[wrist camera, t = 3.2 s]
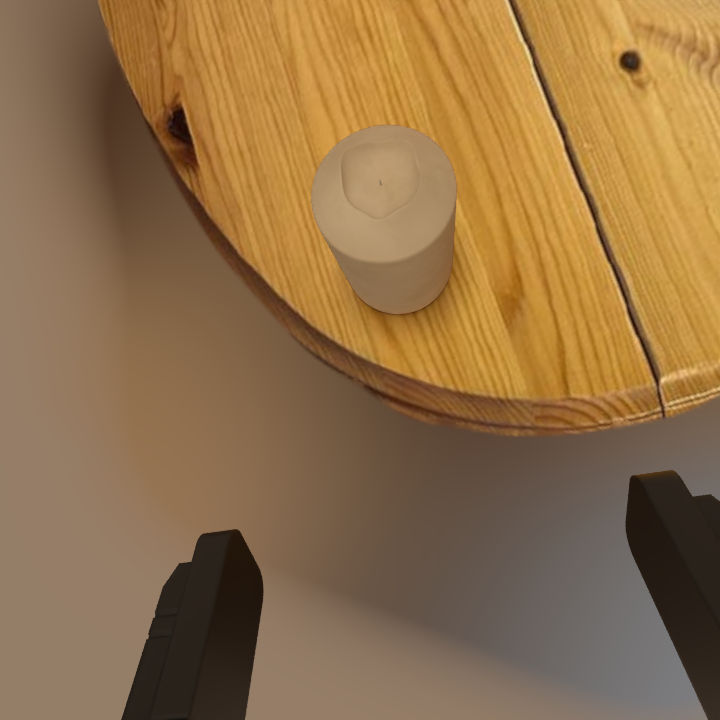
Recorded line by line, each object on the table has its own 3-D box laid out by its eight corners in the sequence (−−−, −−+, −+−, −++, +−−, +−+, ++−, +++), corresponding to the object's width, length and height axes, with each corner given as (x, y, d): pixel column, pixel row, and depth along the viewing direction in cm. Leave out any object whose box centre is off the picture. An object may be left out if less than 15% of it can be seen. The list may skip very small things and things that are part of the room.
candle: (326, 272, 30) (270, 187, 20) (393, 194, 30) (371, 73, 20) (404, 337, 29) (385, 280, 19) (474, 256, 29) (491, 159, 19)
